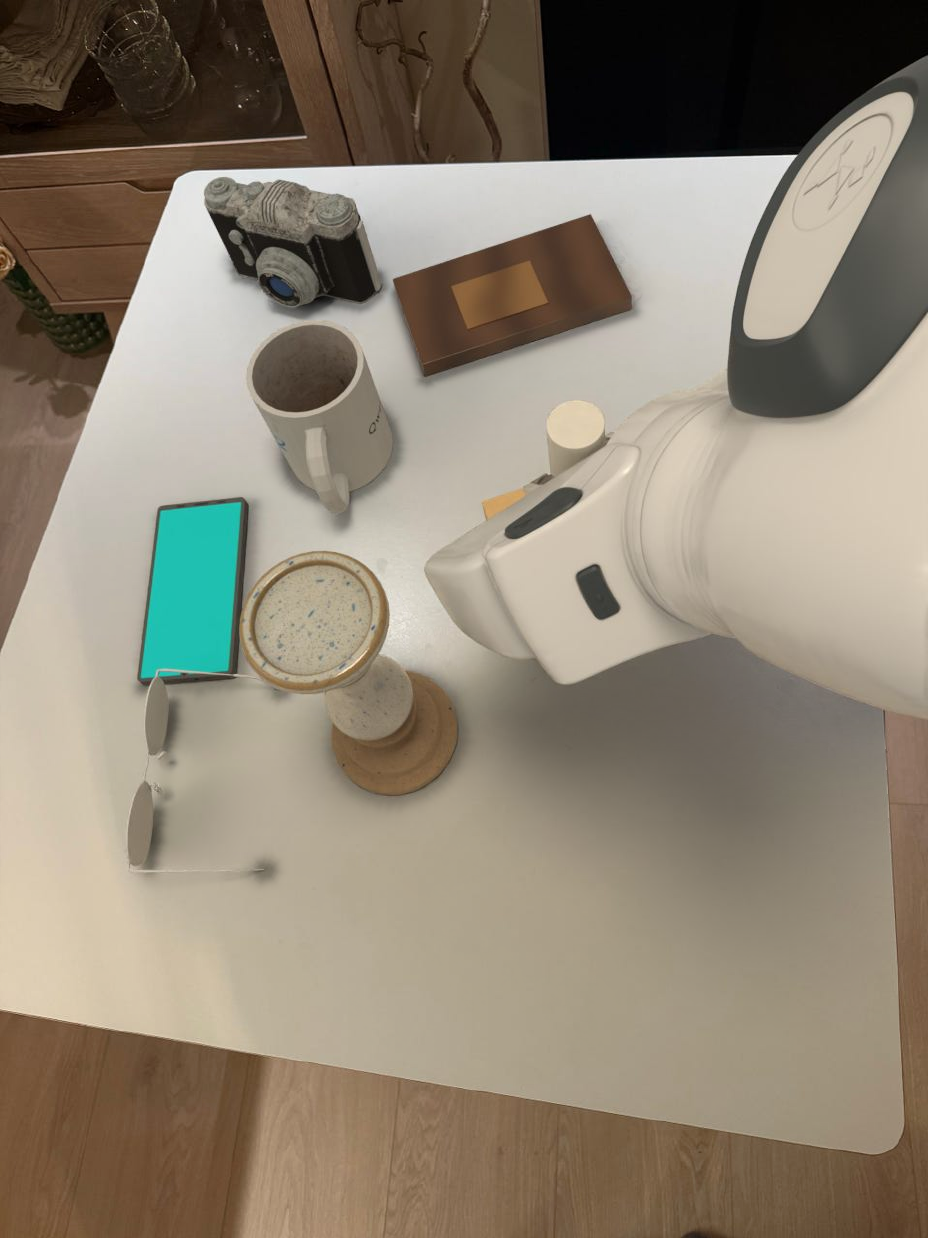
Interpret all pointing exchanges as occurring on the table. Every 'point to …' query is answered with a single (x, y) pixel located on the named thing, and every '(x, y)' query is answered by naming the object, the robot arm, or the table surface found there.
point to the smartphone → (194, 591)
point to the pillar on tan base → (562, 444)
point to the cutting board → (511, 294)
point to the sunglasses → (142, 799)
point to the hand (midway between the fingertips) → (570, 473)
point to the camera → (294, 240)
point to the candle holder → (348, 669)
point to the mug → (321, 408)
